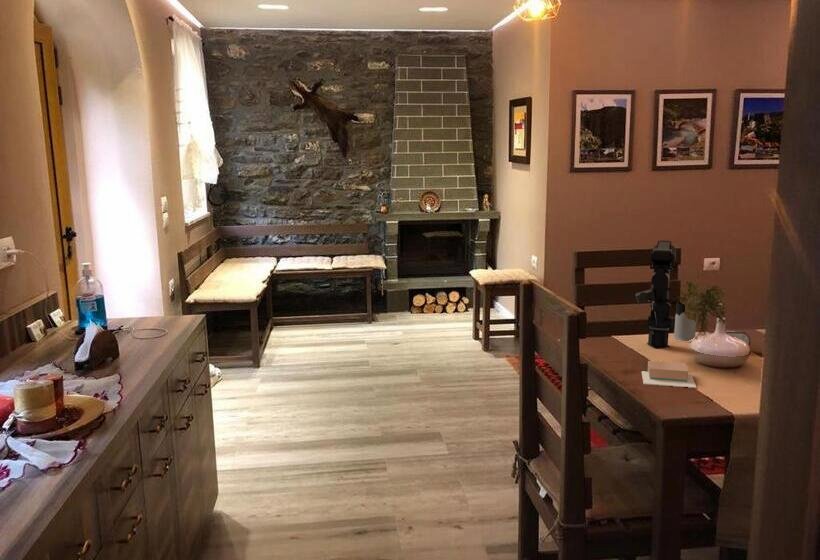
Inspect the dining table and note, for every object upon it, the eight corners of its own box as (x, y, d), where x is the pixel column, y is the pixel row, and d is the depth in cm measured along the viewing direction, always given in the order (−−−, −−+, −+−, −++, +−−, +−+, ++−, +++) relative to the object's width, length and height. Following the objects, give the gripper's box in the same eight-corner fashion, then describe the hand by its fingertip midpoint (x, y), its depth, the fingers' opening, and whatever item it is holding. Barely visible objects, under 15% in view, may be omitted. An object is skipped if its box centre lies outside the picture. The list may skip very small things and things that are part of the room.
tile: (648, 360, 229) (649, 368, 221) (685, 363, 226) (688, 371, 218) (647, 370, 230) (649, 378, 222) (684, 373, 227) (687, 381, 218)
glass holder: (677, 341, 267) (679, 305, 264) (665, 332, 281) (667, 298, 278) (699, 342, 266) (702, 305, 264) (686, 332, 280) (688, 298, 278)
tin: (747, 350, 254) (749, 329, 252) (750, 353, 251) (752, 331, 249) (706, 350, 255) (708, 328, 254) (709, 352, 252) (710, 330, 251)
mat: (641, 372, 230) (641, 371, 230) (691, 375, 225) (691, 374, 225) (643, 384, 217) (643, 383, 217) (696, 388, 213) (696, 387, 213)
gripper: (635, 279, 254) (633, 319, 256) (639, 287, 236) (637, 330, 238) (666, 280, 251) (664, 320, 253) (672, 288, 233) (670, 332, 236)
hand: (658, 325), depth 245 cm, fingers closed
